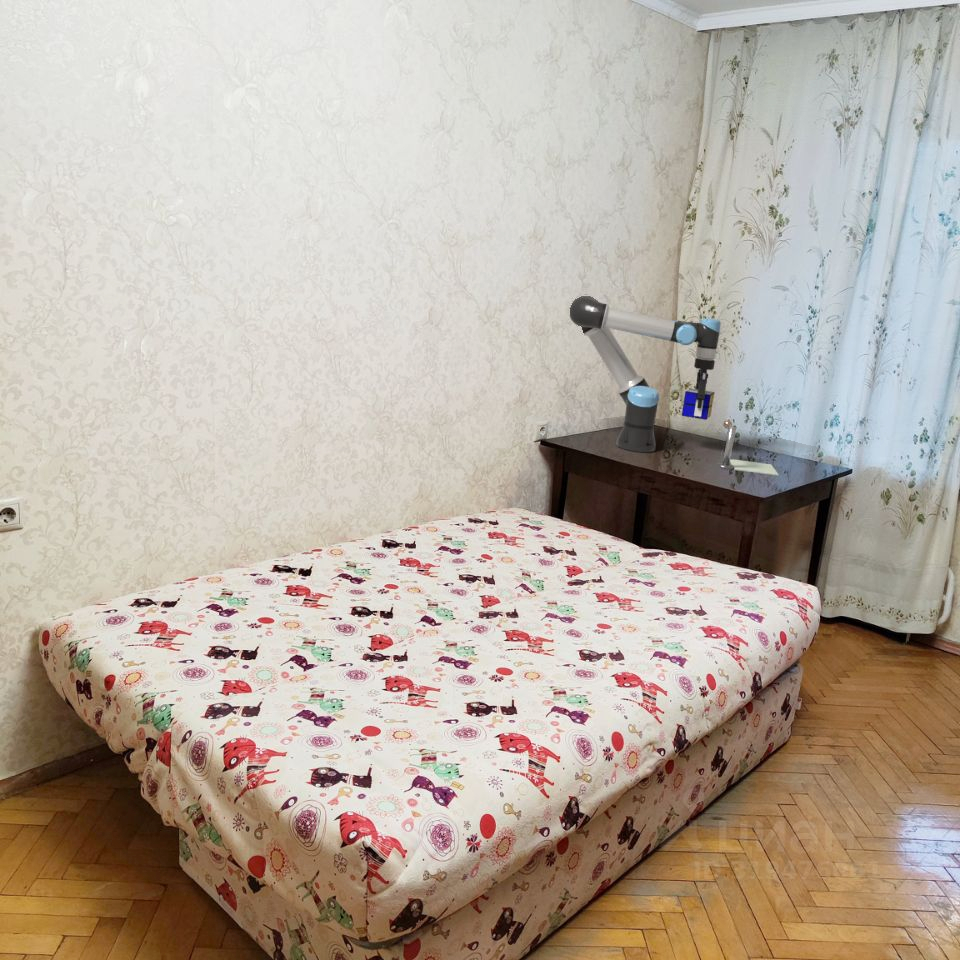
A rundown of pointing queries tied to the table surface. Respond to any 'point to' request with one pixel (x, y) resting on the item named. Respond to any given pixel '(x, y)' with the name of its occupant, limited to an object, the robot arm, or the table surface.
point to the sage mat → (753, 467)
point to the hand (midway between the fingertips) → (696, 413)
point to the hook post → (728, 446)
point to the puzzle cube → (691, 403)
